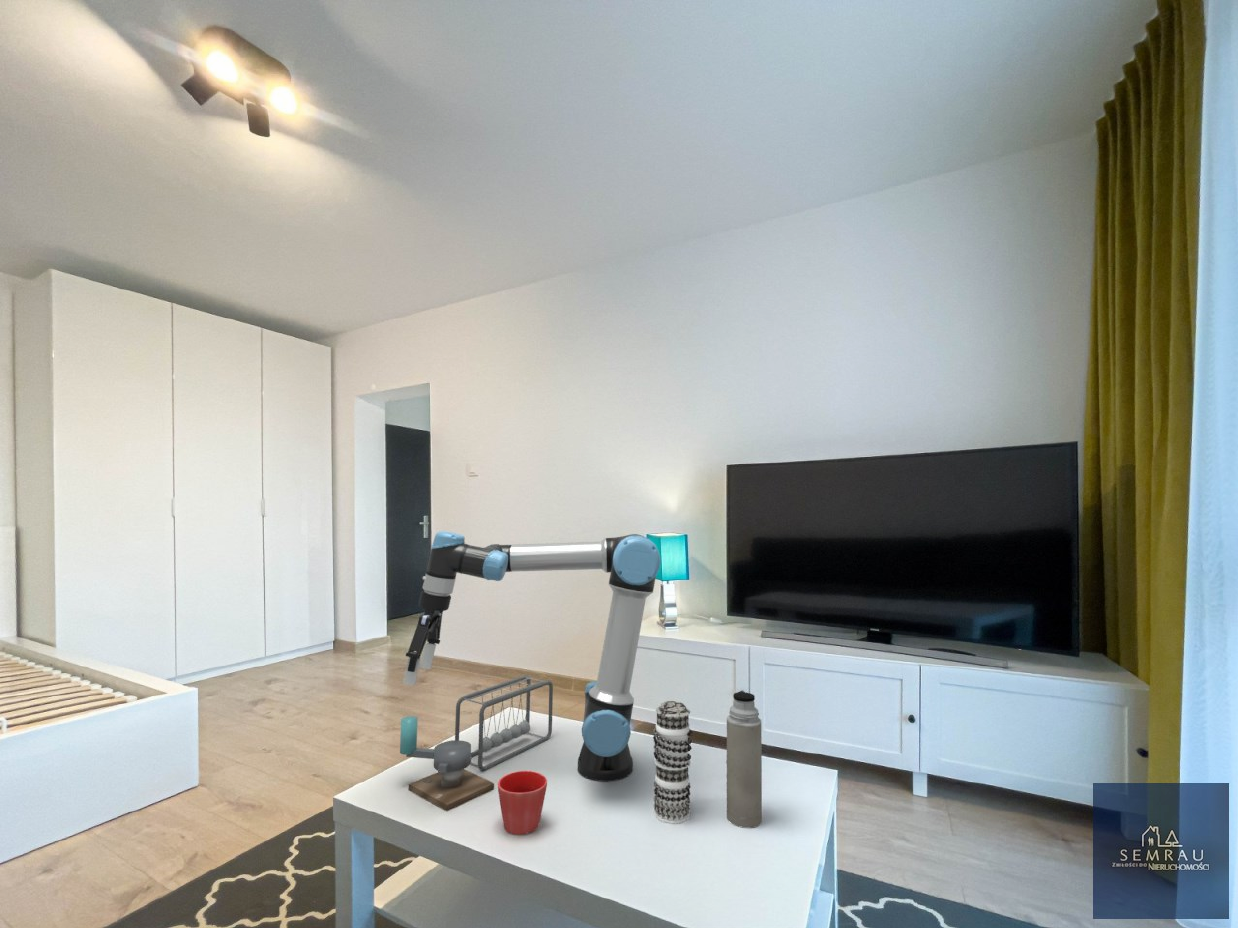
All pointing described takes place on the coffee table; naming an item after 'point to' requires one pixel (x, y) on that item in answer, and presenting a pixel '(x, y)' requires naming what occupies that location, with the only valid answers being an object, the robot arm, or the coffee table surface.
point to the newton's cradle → (514, 730)
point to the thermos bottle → (744, 762)
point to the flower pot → (522, 801)
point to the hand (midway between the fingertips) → (417, 675)
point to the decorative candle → (672, 763)
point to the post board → (451, 788)
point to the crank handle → (444, 754)
